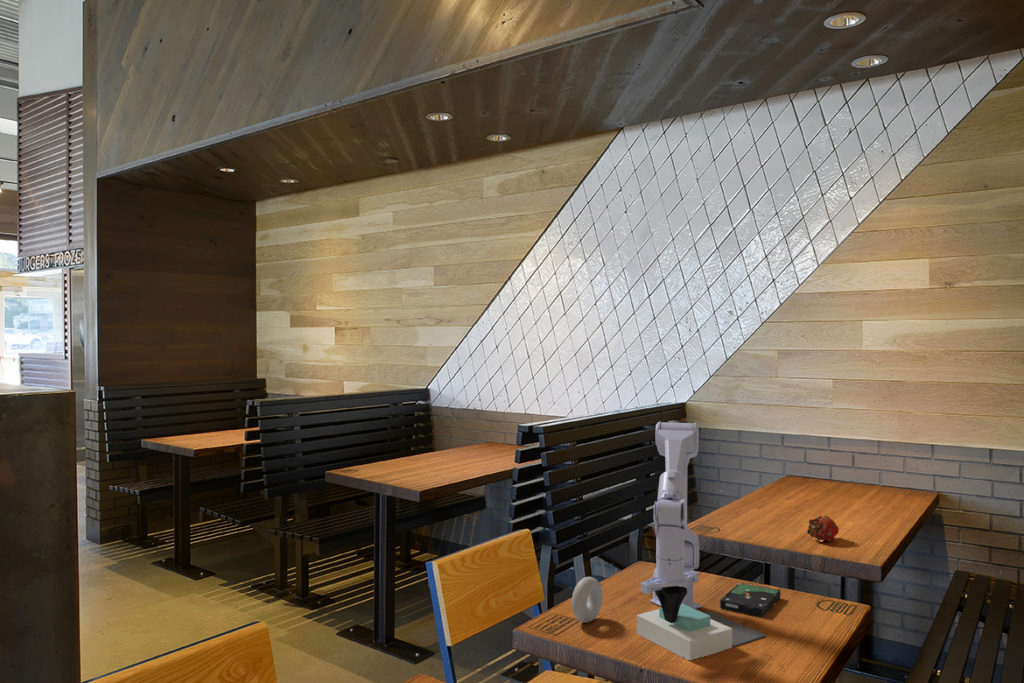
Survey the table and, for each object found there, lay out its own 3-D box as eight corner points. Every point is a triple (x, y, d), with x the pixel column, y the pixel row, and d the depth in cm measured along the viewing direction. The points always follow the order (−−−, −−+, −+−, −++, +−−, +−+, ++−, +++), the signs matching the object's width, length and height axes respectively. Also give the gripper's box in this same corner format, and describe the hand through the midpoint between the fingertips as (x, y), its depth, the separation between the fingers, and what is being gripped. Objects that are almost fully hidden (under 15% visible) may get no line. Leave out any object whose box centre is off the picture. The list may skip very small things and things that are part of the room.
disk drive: (764, 620, 168) (780, 600, 181) (764, 608, 168) (780, 589, 181) (719, 611, 174) (738, 592, 186) (719, 599, 174) (738, 581, 186)
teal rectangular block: (659, 617, 159) (659, 608, 159) (679, 611, 162) (679, 602, 162) (689, 631, 151) (689, 622, 151) (710, 625, 154) (710, 615, 154)
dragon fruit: (814, 550, 225) (825, 547, 234) (838, 537, 221) (849, 534, 230) (798, 525, 229) (810, 522, 238) (822, 511, 225) (833, 510, 234)
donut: (593, 613, 172) (593, 570, 172) (605, 616, 170) (605, 573, 170) (568, 626, 164) (568, 581, 164) (581, 630, 162) (581, 585, 162)
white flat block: (636, 633, 160) (636, 615, 160) (677, 621, 166) (677, 604, 166) (690, 661, 147) (689, 641, 146) (732, 647, 153) (732, 628, 153)
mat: (678, 621, 167) (678, 620, 167) (710, 612, 172) (710, 611, 172) (733, 647, 153) (733, 645, 153) (766, 636, 158) (766, 635, 158)
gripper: (657, 567, 147) (657, 635, 147) (709, 555, 155) (709, 620, 155) (634, 558, 153) (634, 623, 153) (685, 547, 161) (685, 609, 161)
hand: (670, 621), depth 155 cm, fingers closed
